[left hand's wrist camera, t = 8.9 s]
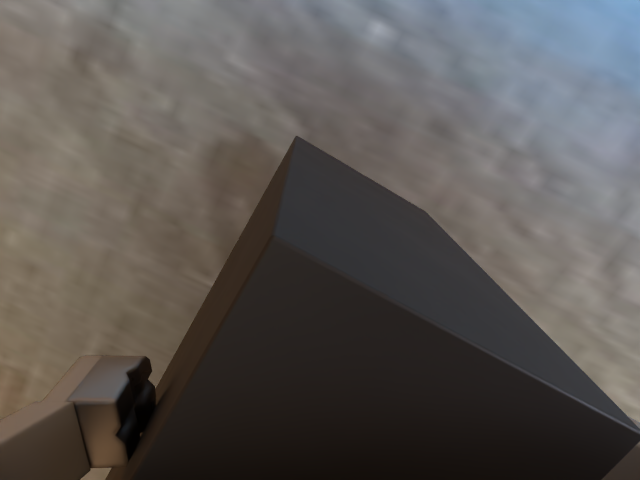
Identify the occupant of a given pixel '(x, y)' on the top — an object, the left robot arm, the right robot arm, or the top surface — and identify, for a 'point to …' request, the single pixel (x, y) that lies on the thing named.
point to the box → (367, 356)
